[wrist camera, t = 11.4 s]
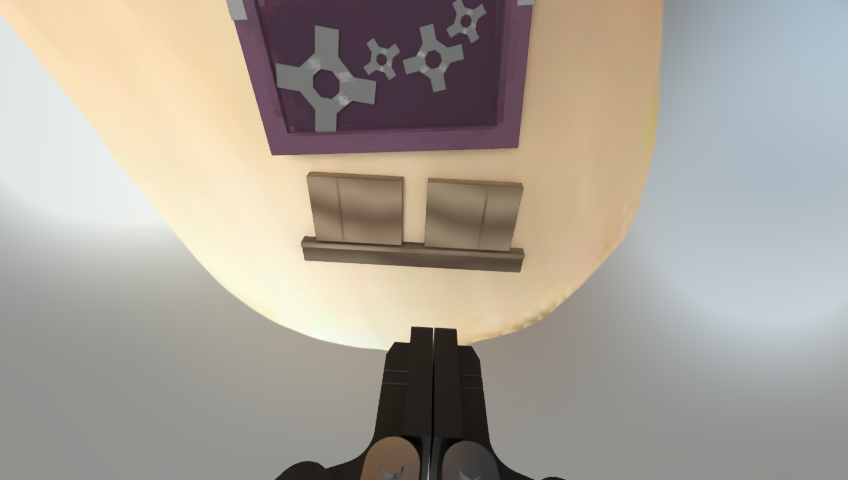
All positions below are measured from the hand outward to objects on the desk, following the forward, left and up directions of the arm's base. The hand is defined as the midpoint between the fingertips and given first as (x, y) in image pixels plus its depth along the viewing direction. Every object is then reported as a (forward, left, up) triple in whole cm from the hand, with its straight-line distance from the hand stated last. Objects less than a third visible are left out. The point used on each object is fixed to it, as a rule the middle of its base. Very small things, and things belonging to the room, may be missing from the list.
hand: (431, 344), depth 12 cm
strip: (+18, -2, -31) cm, 36 cm away
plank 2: (+11, +5, -31) cm, 33 cm away
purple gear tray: (-6, -5, -32) cm, 33 cm away
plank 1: (+11, -9, -31) cm, 34 cm away
